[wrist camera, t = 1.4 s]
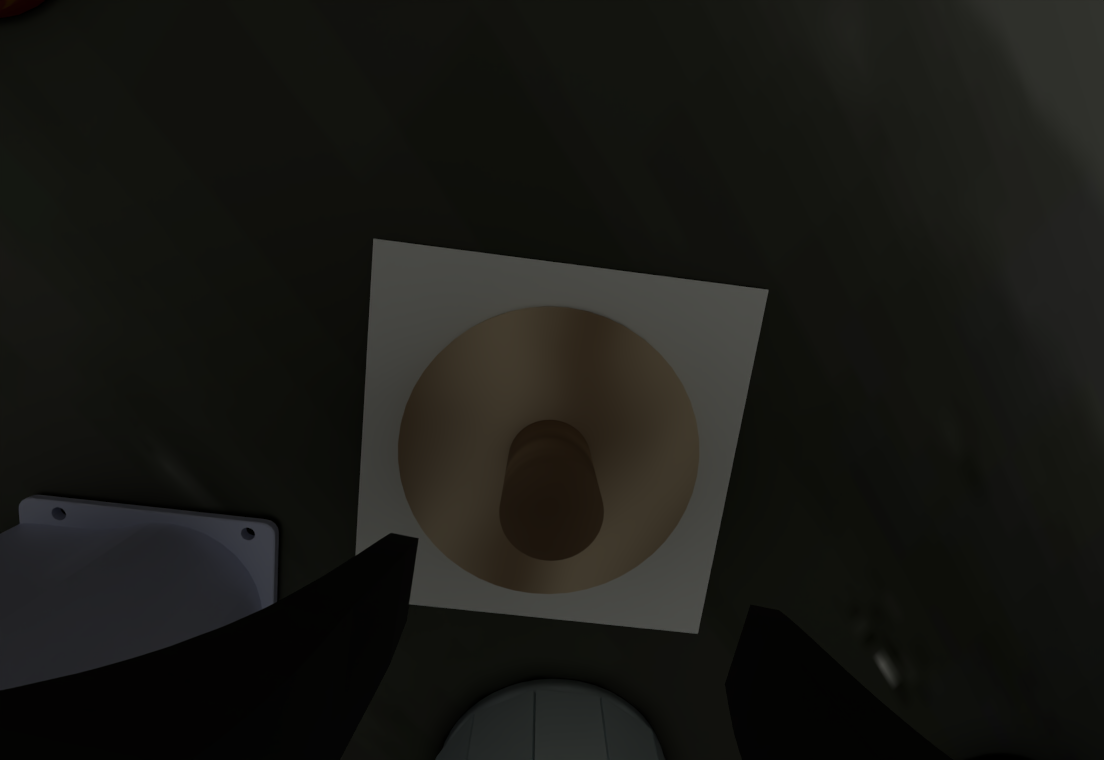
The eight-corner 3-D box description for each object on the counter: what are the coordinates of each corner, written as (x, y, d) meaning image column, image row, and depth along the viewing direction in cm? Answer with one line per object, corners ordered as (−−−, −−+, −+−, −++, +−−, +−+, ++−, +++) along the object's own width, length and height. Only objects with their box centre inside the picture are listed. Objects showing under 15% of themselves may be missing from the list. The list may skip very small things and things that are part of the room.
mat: (355, 593, 22) (353, 598, 22) (375, 239, 19) (373, 238, 19) (695, 628, 23) (697, 633, 22) (765, 289, 20) (768, 289, 19)
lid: (393, 568, 21) (348, 661, 17) (413, 288, 19) (368, 296, 14) (667, 596, 22) (705, 694, 17) (718, 326, 20) (779, 347, 15)
